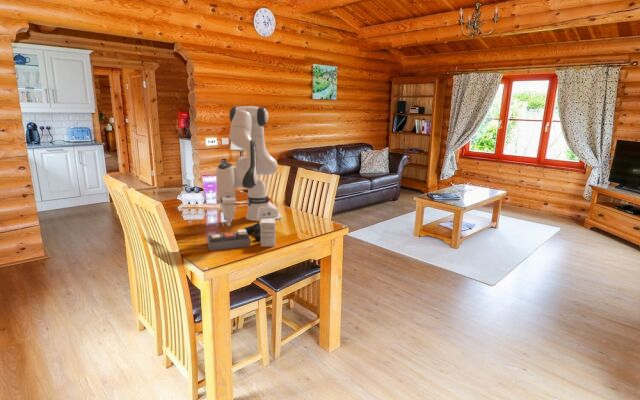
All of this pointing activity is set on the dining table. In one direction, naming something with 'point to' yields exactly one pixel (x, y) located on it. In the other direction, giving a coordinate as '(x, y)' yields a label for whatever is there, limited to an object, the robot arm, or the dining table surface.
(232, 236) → the red button
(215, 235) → the button
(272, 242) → the supplement box
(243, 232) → the button
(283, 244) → the dining table surface
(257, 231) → the gaming controller
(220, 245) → the button box
